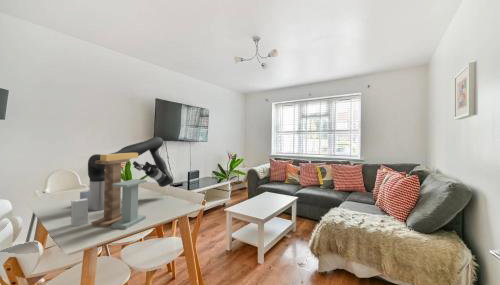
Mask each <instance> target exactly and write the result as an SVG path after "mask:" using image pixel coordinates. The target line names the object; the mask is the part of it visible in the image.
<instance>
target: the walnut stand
mask: <svg viewBox="0 0 500 285" xmlns="http://www.w3.org/2000/svg"><path fill="white" fill-rule="evenodd" d="M129 162H130V159H121V160H111V161H100V160H98V161H95V164H105V187H104V209H103V217H101V218H99V219H96V220H94V221H92V222H90V223H91V224H90V225H91V226H92V227H93V226H94V227H102V228H110V227H112V224H114V223H116V222H118V221H120V220H122V212H121V199H122V197H121V196H122V195H121V194H122V192H121V191H122V189H121V188H122V187H116V186H113V184H116V183H120V182H122V164H123V163H129Z"/></svg>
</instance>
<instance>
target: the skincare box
mask: <svg viewBox="0 0 500 285" xmlns="http://www.w3.org/2000/svg"><path fill="white" fill-rule="evenodd" d="M70 203H71V205H70V207H71V208H70V209H71V212H70V215H71V216H70V217H71V219H70V221H71V222H70V223H71V226H72V227H76V226H82V225H85V224H88V223H89V209H88V199H86V198H85V199H80V198H79V199H75V200H74V199H72V200H71V201H70Z"/></svg>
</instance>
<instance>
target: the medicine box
mask: <svg viewBox="0 0 500 285" xmlns="http://www.w3.org/2000/svg"><path fill="white" fill-rule="evenodd" d="M89 190H90V189H89ZM89 190H85V191H80V192H79V199H85V198H86V199H88V193H89Z"/></svg>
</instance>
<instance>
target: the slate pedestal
mask: <svg viewBox="0 0 500 285" xmlns="http://www.w3.org/2000/svg"><path fill="white" fill-rule="evenodd" d="M146 182H148V181H147V179H140V178H139V179H137V178H134V179H129V180H125V181H121V182H120V183H116V184H113V186H116V187H121V188H122V189H121V191H122V192H121V194H122V195H121V196H122V197H121V213H122V220H120V221H118V222H116V223H114V224H112V226H111V228H113V229H120V230H121V229H124V230H127V229H129V228H131V227H133V226H134V225H136V224H138V223H140V222H142V221H144V220H145V219H147V215H142V214H138V213H139V211H138V210H139V185H140V184H144V183H146Z"/></svg>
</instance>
